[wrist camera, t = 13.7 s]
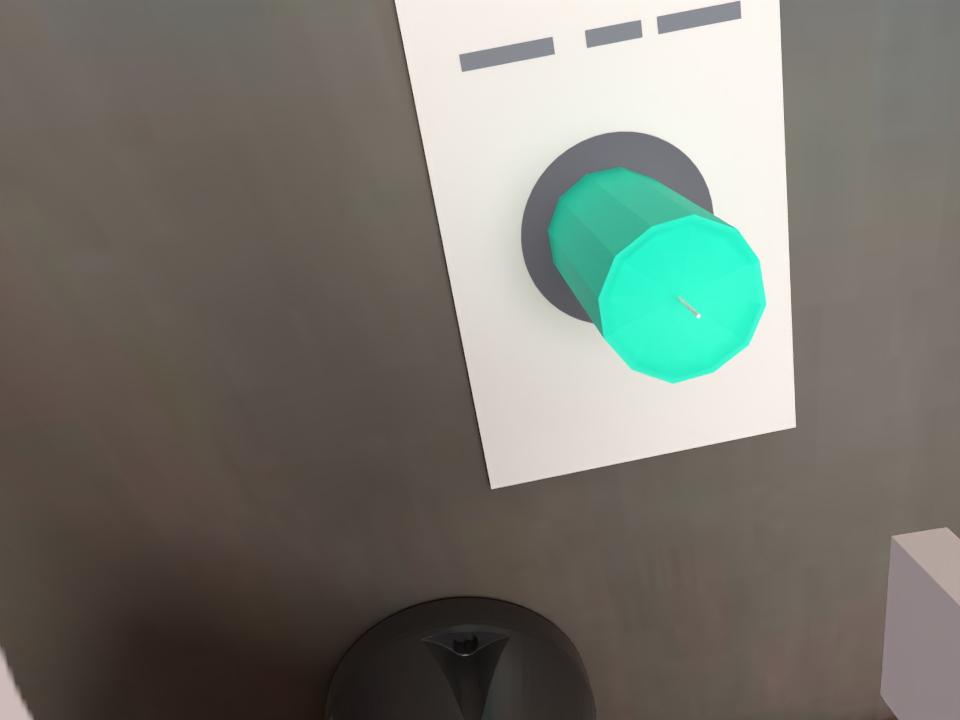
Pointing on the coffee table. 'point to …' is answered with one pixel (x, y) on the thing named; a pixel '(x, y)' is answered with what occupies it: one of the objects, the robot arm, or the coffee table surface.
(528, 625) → the robot arm
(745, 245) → the candle
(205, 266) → the coffee table surface
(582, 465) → the paper pad
